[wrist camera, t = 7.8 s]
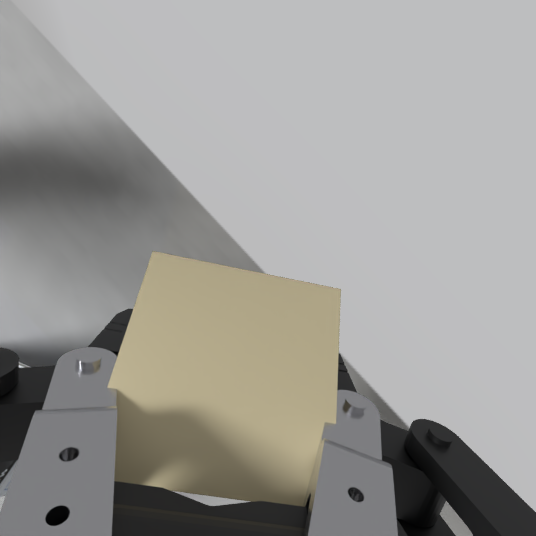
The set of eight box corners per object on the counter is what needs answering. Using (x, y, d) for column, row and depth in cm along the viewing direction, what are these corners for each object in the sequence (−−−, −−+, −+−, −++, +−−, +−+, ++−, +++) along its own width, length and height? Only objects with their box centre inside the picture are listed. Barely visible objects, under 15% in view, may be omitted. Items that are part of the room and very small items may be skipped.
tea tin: (140, 463, 14) (76, 478, 6) (171, 344, 16) (152, 251, 9) (260, 480, 14) (333, 512, 7) (274, 362, 17) (340, 289, 9)
